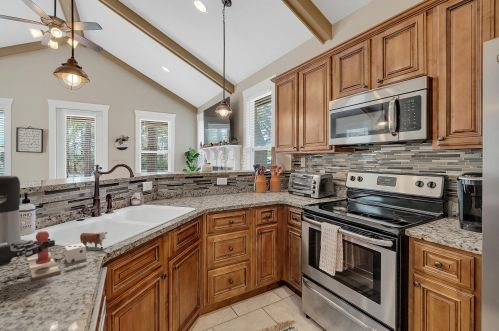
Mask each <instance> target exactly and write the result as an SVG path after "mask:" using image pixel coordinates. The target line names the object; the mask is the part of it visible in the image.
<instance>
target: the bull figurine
mask: <svg viewBox="0 0 499 331" xmlns="http://www.w3.org/2000/svg"><path fill="white" fill-rule="evenodd" d="M107 234H108V232H107V231H106V232H105V231H99V232H93V233H91V232H82V233H80V236H79V238H80V243H83V244H84V245H85V246H86V247H87V245H88V244H90V245H92V244H94V248H97V246H98V245H99V246H100V245H101V246H103V241H104V240H106V238H107V237H106V235H107Z"/></svg>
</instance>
